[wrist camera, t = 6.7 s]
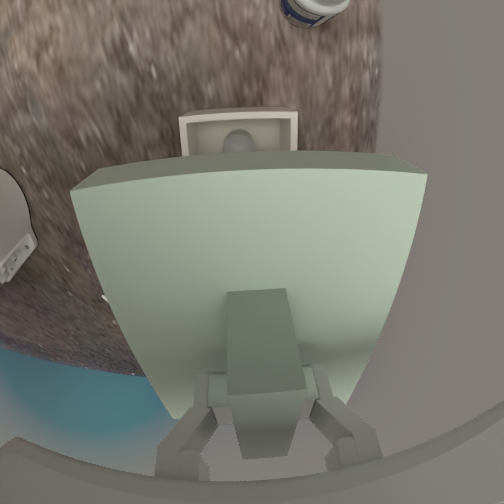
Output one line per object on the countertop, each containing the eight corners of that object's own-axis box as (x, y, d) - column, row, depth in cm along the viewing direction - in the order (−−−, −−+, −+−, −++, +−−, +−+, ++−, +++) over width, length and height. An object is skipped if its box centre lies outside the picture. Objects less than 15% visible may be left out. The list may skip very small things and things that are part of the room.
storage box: (282, 220, 35) (292, 251, 29) (201, 224, 35) (195, 256, 29) (284, 106, 27) (297, 111, 21) (190, 110, 27) (178, 117, 21)
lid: (336, 380, 18) (356, 458, 13) (176, 390, 18) (169, 471, 12) (394, 155, 10) (512, 236, 4) (98, 168, 9) (-8, 265, 4)
